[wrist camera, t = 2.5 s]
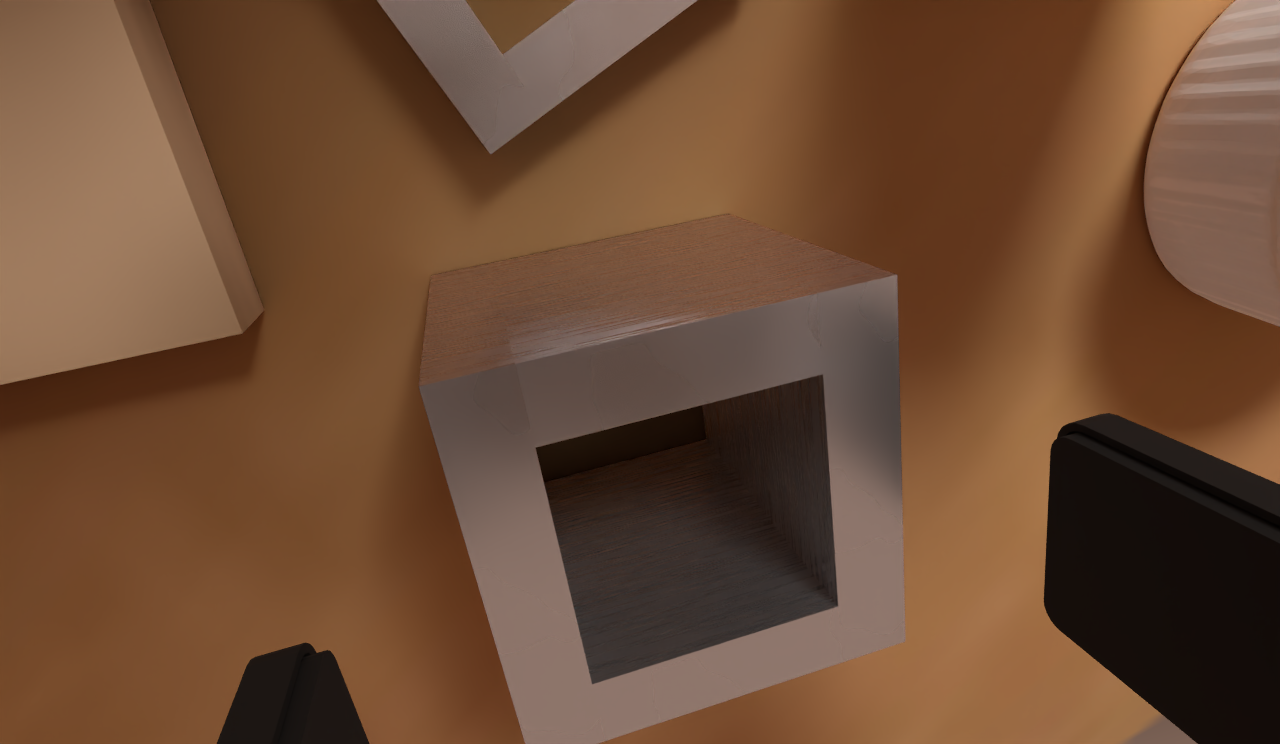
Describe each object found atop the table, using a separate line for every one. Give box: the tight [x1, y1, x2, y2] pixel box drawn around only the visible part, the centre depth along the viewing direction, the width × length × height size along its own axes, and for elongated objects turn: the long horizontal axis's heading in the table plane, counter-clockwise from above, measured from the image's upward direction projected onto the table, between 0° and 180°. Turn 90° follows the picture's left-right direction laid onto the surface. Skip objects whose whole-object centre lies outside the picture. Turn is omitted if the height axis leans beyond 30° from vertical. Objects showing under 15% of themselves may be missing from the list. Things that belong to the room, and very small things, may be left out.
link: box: [419, 214, 905, 744], centre depth 12 cm, size 6×6×6 cm
